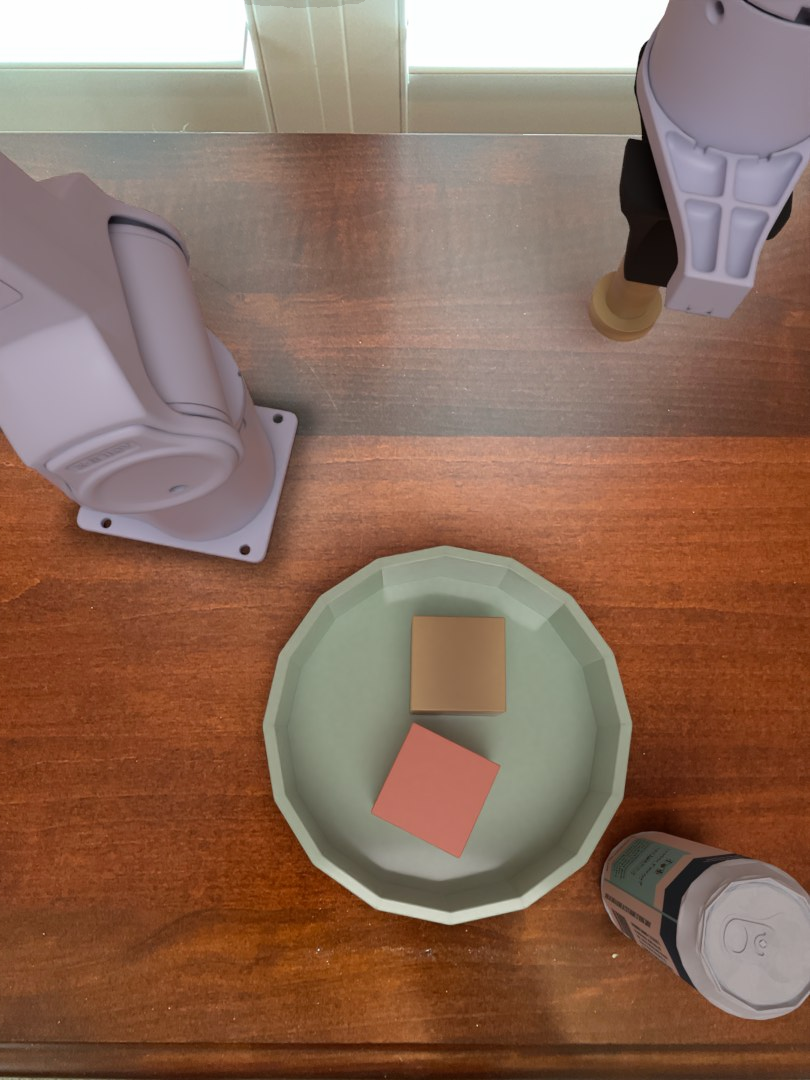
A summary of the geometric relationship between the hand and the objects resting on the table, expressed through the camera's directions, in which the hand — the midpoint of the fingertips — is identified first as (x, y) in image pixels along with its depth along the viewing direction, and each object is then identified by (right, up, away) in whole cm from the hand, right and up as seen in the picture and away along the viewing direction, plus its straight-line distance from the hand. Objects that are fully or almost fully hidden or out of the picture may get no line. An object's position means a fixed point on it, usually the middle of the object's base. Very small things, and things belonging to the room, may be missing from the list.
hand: (652, 250), depth 34 cm
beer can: (+1, -28, +3) cm, 28 cm away
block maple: (-8, -18, +5) cm, 20 cm away
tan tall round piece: (0, -1, +5) cm, 5 cm away
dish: (-8, -21, +5) cm, 23 cm away
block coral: (-9, -23, +3) cm, 25 cm away
